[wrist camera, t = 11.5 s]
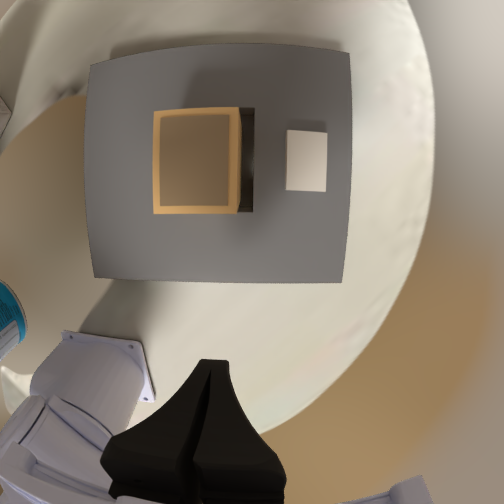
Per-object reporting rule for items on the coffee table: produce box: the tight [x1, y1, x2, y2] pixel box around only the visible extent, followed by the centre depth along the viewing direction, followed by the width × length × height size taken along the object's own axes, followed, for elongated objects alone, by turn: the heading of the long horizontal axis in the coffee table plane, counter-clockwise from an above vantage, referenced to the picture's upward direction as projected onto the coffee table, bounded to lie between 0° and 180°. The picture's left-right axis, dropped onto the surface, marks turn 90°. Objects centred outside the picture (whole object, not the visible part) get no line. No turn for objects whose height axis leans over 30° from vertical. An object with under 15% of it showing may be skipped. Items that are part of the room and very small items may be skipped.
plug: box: [153, 107, 242, 214], centre depth 15 cm, size 4×5×7 cm
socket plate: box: [84, 43, 352, 283], centre depth 17 cm, size 18×16×3 cm
